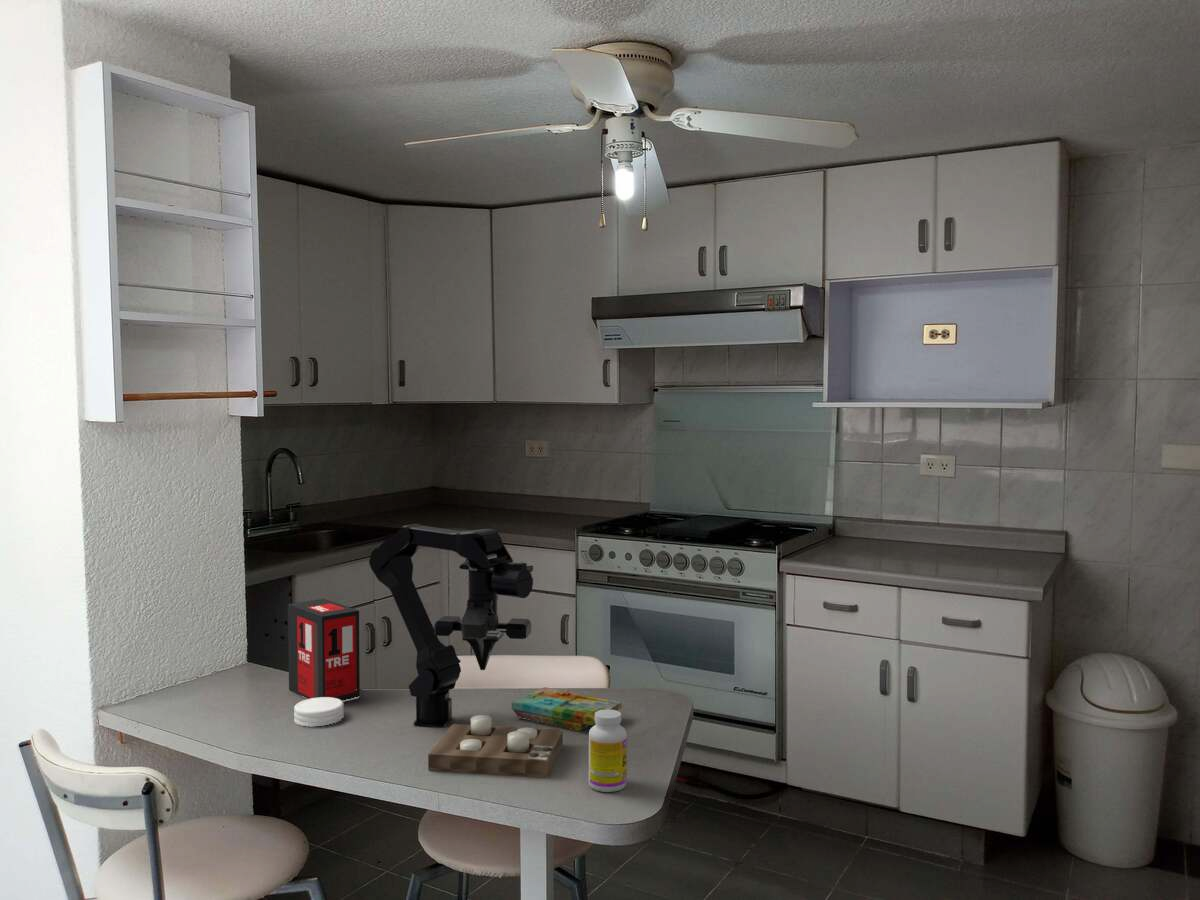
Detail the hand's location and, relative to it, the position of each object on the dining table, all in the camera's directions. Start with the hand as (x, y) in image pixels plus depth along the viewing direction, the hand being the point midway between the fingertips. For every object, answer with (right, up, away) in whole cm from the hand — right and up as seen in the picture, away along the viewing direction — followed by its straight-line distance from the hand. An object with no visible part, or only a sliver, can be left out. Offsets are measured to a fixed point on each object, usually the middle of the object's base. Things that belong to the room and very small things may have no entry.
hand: (483, 669), depth 190 cm
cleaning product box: (-39, -12, +25) cm, 48 cm away
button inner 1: (0, -11, -7) cm, 13 cm away
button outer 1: (-1, -13, -14) cm, 19 cm away
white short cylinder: (-35, -13, +8) cm, 39 cm away
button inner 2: (+9, -13, -8) cm, 18 cm away
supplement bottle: (+25, -15, -25) cm, 38 cm away
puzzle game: (+17, -13, +9) cm, 23 cm away
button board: (+4, -14, -12) cm, 19 cm away
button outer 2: (+8, -11, -15) cm, 21 cm away
